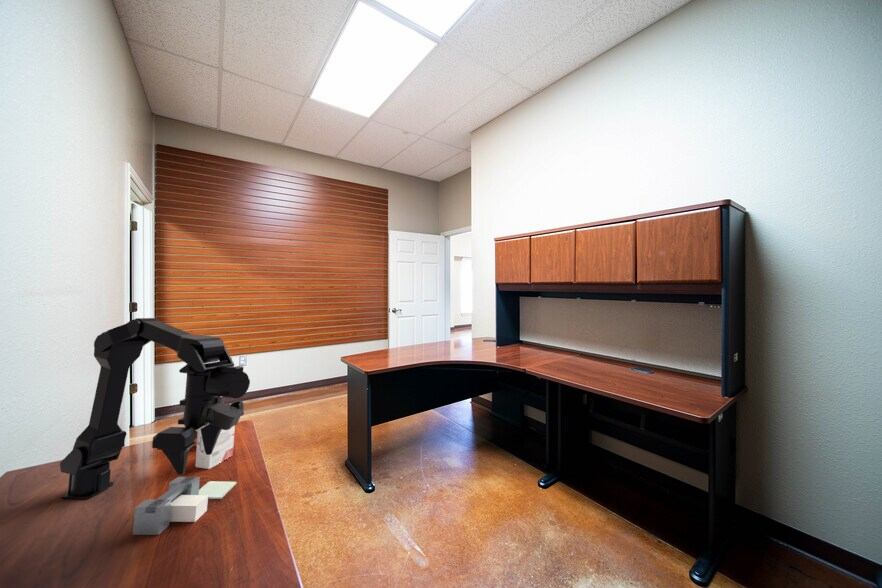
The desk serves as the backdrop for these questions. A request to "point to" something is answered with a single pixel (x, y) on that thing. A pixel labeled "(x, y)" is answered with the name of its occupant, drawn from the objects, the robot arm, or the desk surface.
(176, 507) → the plug
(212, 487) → the mat
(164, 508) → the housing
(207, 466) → the ink cartridge box
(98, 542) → the desk surface
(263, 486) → the desk surface
